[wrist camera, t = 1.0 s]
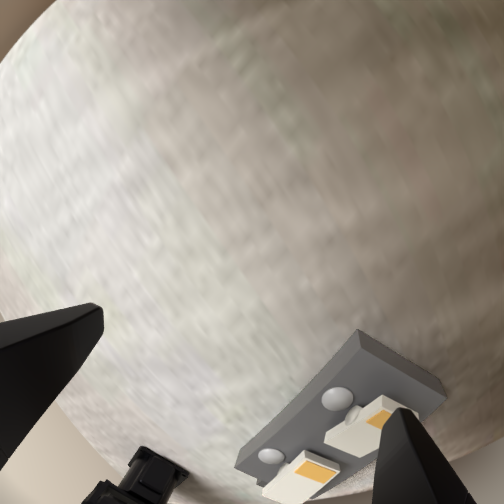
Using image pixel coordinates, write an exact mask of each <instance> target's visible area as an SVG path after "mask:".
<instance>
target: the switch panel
mask: <svg viewBox="0 0 504 504" xmlns="http://www.w3.org/2000/svg"><path fill="white" fill-rule="evenodd" d="M381 395H384V396H386V397H388V398H390V399H392V400H394V401H396V402H398V403H400V404H401V405H403V406H405V407H407V408H409V409H411V410H413V411H415V412H417V413H418V415H419V421H420V423H421V422H422V421H423V420H425V419H426V418H427V417H428V416H429V415H430V414H431V413H432V412H433V411H434V410H436V409H437V408H438V407H439V406H440V405H441V404H442V403H443V402H444V401H445V400H446V399H447V396H446V394H445V392H444V389H443V387H442V385H441V383H440V380H439V379H438V378H436V377H435V376H433V375H431V374H430V373H428V372H426V371H425V370H423V369H422V368H420V367H418V366H417V365H415V364H413V363H412V362H410V361H408V360H407V359H405V358H404V357H402V356H400V355H399V354H397V353H395V352H394V351H392V350H391V349H389V348H387V347H386V346H384V345H382V344H381V343H379V342H378V341H376V340H374V339H373V338H371V337H370V336H368V335H366V334H365V333H363V332H361V331H360V330H358V329H357V330H356V331H355V332H354V334H353V335H352V336H351V337H350V338H349V339H348V341H347V342H346V343H345V344H344V345H343V346H342V348H341V349H340V350H339V351H338V352H337V353H336V354H335V356H334V357H333V358H332V359H331V360H330V361H329V362H328V363H327V365H326V366H325V367H324V368H323V369H322V370H321V371H320V372H319V373H318V374H317V375H316V376H315V378H314V379H313V380H312V381H311V382H310V383H309V384H308V385H307V386H306V387H305V388H304V389H303V390H302V391H301V392H300V393H299V394H298V395H297V396H296V397H295V398H294V399H293V400H292V401H291V402H290V403H289V404H288V405H287V406H286V407H285V408H284V409H283V410H282V411H281V412H280V413H279V414H278V415H277V416H276V417H275V418H274V419H273V420H272V421H271V422H270V423H269V424H268V425H267V426H266V427H264V428H263V429H262V430H261V431H260V432H259V433H258V434H257V435H256V436H255V437H254V438H252V439H251V440H250V441H249V442H248V443H247V444H246V445H245V446H244V447H242V448H241V449H240V452H239V455H238V458H237V461H236V464H235V467H234V468H235V469H237V470H240V471H242V472H244V473H246V474H248V475H251V476H253V477H255V478H257V483H256V485H259V486H261V487H265V486H266V485H267V484H268V483H269V482H271V481H272V480H273V479H274V478H275V477H276V476H277V473H278V471H279V469H280V467H281V466H282V465H283V464H284V463H289V464H290V463H291V462H292V461H293V460H294V459H295V458H296V457H297V456H298V455H299V454H300V453H301V452H302V451H303V450H306V451H309V452H311V453H313V454H316V455H318V456H320V457H323V458H325V459H328V460H330V461H333V462H335V463H338V464H339V467H340V472H339V473H338V474H337V475H336V476H335V477H334V478H333V479H331V480H330V481H329V482H328V483H327V484H326V485H325V486H323V487H322V488H321V489H320V490H319V491H317V492H316V493H315V494H314V495H312V496H311V497H310V499H314V498H316V497H318V496H319V495H321V494H323V493H325V492H326V491H328V490H330V489H331V488H333V487H335V486H336V485H338V484H339V483H341V482H343V481H344V480H346V479H347V478H349V477H350V476H352V475H353V474H355V473H356V472H358V471H359V470H361V469H362V468H364V467H365V466H367V465H368V464H369V463H371V462H372V461H374V460H375V459H376V458H377V456H378V450H379V448H378V449H376V450H374V451H372V452H370V453H369V454H367V455H365V456H363V457H361V458H359V457H357V456H354V455H352V454H349V453H347V452H344V451H342V450H339V449H337V448H335V447H332V446H330V445H328V444H325V443H324V440H325V435H326V432H327V431H329V430H330V429H332V428H334V427H335V426H337V425H338V424H340V423H342V422H343V421H345V418H346V415H347V413H348V412H349V410H350V409H351V408H352V407H354V406H356V405H358V406H360V407H362V408H364V407H365V406H367V405H368V404H370V403H371V402H373V401H374V400H375V399H377V398H378V397H379V396H381Z"/></svg>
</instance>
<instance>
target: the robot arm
mask: <svg viewBox="0 0 504 504" xmlns="http://www.w3.org/2000/svg"><path fill="white" fill-rule="evenodd" d="M103 332H104V315H103V309H102V308H101V307H100V306H98V305H96V304H94V303H86V304H82V305H77V306H73V307H69V308H64V309H60V310H55V311H51V312H46V313H42V314H37V315H33V316H28V317H24V318H19V319H15V320H10V321H6V322H1V323H0V471H1V469H2V468H3V466H4V465H5V464H6V462H7V461H8V458H10V457H11V455H12V454H13V453H14V451H15V450H16V449H17V447H18V446H19V445H20V443H21V442H22V441H23V439H24V438H25V437H26V435H27V434H28V433H29V431H30V430H31V429H32V428H33V426H34V425H35V424H36V422H37V421H38V420H39V419H40V417H41V416H42V415H43V414H44V412H45V411H46V410H47V409H48V407H49V406H50V405H51V403H52V402H53V401H54V400H55V399H56V397H57V396H58V395H59V394H60V392H61V391H62V390H63V389H64V388H65V386H66V385H67V384H68V383H69V381H70V380H71V379H72V378H73V377H74V375H75V374H76V373H77V372H78V370H79V369H80V368H81V366H82V365H83V363H84V362H85V360H86V359H87V357H88V356H89V354H90V353H91V351H92V350H93V348H94V347H95V345H96V344H97V342H98V341H99V339H100V338H101V336H102V334H103ZM128 466H129V467H130V469H129V470H128V472H127V473H126V475H125V476H124V478H123V480H122V481H121V483H120V484H119V486H118V487H117V486H115V485H114V484H112V483H111V482H110V481H109V480H106V481H105V482H102V481H99V483H98V484H97V486H96V487H95V488H94V490H93V491H92V492H91V493H90V494H89V495H88V496H87V497H86V498H85V499H84V501H83V502H82V503H81V504H167V502H168V500H169V498H170V496H171V494H172V492H173V490H174V489H175V488H176V487H177V486H178V485H179V484H181V483H182V482H183V481H184V480H185V479H186V478H188V476H189V473H188V472H186V471H184V470H183V469H181V468H179V467H177V466H175V465H173V464H172V463H170V462H168V461H166V460H165V459H163V458H161V457H160V456H158V455H156V454H155V453H153V452H151V451H150V450H148V449H146V448H145V447H143V446H140V447H139V449H138V450H137V452H136V453H135V455H134V456H133V458H132V459H131V461H130V462H129V464H128ZM372 504H477V503H476V502H475V501H474V499H473V498H472V496H471V495H470V493H468V490H467V489H466V487H465V486H464V484H463V483H462V481H461V480H460V478H459V477H458V476H457V474H456V472H455V471H454V470H453V468H452V467H451V465H450V464H449V462H448V461H447V459H446V458H445V457H444V455H443V454H442V452H441V451H440V449H439V448H438V447H437V445H436V444H435V442H434V441H433V439H432V438H431V437H430V435H429V434H428V432H427V431H426V430H425V428H424V427H423V425H422V424H421V423H420V421H419V420H418V418H417V417H416V416H415V414H414V413H413V412H412V410H410V409H408V408H402V407H398V408H397V409H395V411H394V412H393V413H392V414H391V416H390V417H389V418H388V420H387V421H386V422H385V423H384V425H383V427H382V430H381V437H380V444H379V450H378V456H377V462H376V467H375V474H374V485H373V497H372Z"/></svg>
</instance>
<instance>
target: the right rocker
mask: <svg viewBox="0 0 504 504" xmlns="http://www.w3.org/2000/svg"><path fill="white" fill-rule="evenodd" d="M398 407H402V408H407V407H405V406H403V405H401V404H400V403H398V402H396V401H394V400H392V399H390V398H388V397H386V396H384V395H381V396H379V397H378V398H377V399H375V400H374V401H373V402H371V403H370V404H368V405H367V406H365V407H364V408H362V407H360V406H358V405H356V406H354V407H352V408H351V409H350V410H349V412H348V413H347V415H346V418H345V421H343V422H342V423H340V424H338V425H337V426H335V427H334V428H332V429H330V430H329V431H327V432H326V435H325V440H324V443H325V444H328V445H330V446H332V447H335V448H337V449H339V450H342V451H344V452H347V453H349V454H352V455H354V456H357V457H359V458H361V457H363V456H365V455H367V454H369V453H370V452H372V451H374V450H376V449H378V448H379V444H380V437H381V430H382V427H383V425H384V423H385V422H386V421H387V420H388V418H389V417H390V416H391V414H392V413H393V412H394V411H395V409H397V408H398ZM408 409H409V408H408ZM410 410H411V409H410ZM412 412H413V413H414V414H415V416H416V417H417V418H418V420H419V415H418V413H417V412H415V411H413V410H412Z"/></svg>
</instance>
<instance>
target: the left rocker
mask: <svg viewBox="0 0 504 504" xmlns="http://www.w3.org/2000/svg"><path fill="white" fill-rule="evenodd" d="M339 472H340V467H339V464H338V463H335V462H333V461H330V460H328V459H325V458H323V457H320V456H318V455H316V454H313V453H311V452H309V451H306V450H303V451H302V452H301V453H300V454H299V455H298V456H297V457H296V458H295V459H294V460H293V461H292V462H291V463H290V464H289V463H284V464H283V465H282V466H281V467H280V469H279V471H278V473H277V476H276V477H275V478H274V479H273V480H272V481H271V482H269V483H268V484H267V485H266V486H265V487H264V488H263V491H262V496H264V497H266V498H269V499H272V500H274V501H277V502H280V503H282V504H302V503H304V502H305V501H306V500H307V499H309V498H310V497H311V496H312V495H314V494H315V493H316V492H317V491H319V490H320V489H321V488H322V487H323V486H325V485H326V484H327V483H328V482H329V481H330V480H331V479H333V478H334V477H335V476H336V475H337V474H338V473H339Z"/></svg>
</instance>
